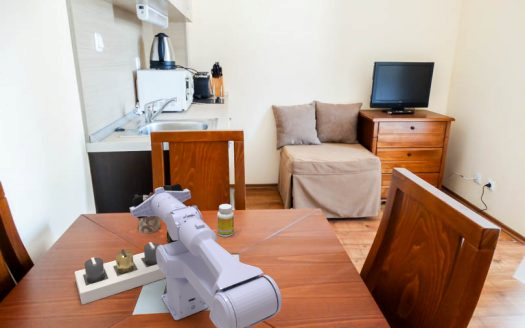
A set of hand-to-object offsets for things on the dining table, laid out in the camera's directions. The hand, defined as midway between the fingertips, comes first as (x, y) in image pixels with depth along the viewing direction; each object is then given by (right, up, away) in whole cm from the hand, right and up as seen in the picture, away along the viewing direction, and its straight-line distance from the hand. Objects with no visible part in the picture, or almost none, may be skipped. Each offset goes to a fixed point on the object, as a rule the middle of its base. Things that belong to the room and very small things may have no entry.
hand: (150, 193), depth 92 cm
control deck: (-6, -22, -2) cm, 22 cm away
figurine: (-8, -14, +24) cm, 29 cm away
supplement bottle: (+17, -15, +23) cm, 32 cm away
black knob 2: (0, -18, +1) cm, 18 cm away
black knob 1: (-12, -20, -6) cm, 24 cm away
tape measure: (+4, -16, +18) cm, 25 cm away
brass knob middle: (-6, -19, -2) cm, 20 cm away
